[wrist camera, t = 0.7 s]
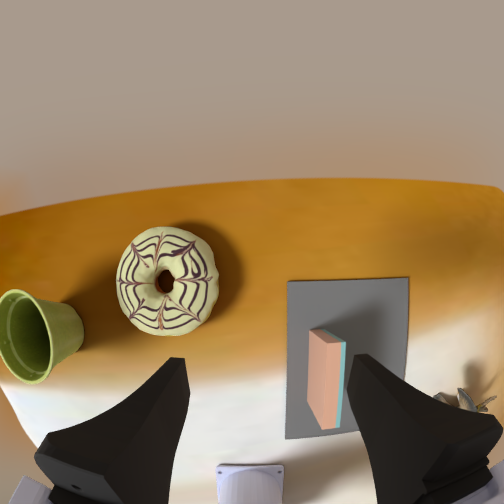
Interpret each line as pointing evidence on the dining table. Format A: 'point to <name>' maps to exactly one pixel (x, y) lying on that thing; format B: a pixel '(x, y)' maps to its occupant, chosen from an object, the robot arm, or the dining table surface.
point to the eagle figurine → (467, 402)
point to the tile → (326, 377)
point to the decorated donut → (185, 285)
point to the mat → (349, 330)
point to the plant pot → (36, 334)
